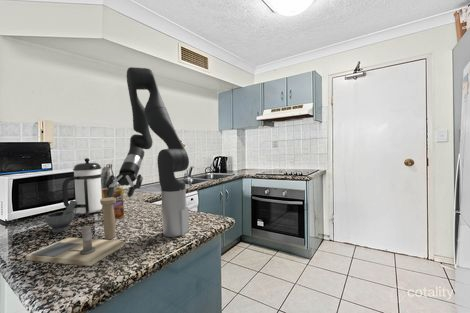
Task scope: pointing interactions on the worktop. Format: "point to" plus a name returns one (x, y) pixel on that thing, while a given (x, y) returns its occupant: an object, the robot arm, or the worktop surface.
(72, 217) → the mortar and pestle
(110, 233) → the handle
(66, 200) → the coffee press
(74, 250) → the plate
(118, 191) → the candy box
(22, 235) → the worktop surface
